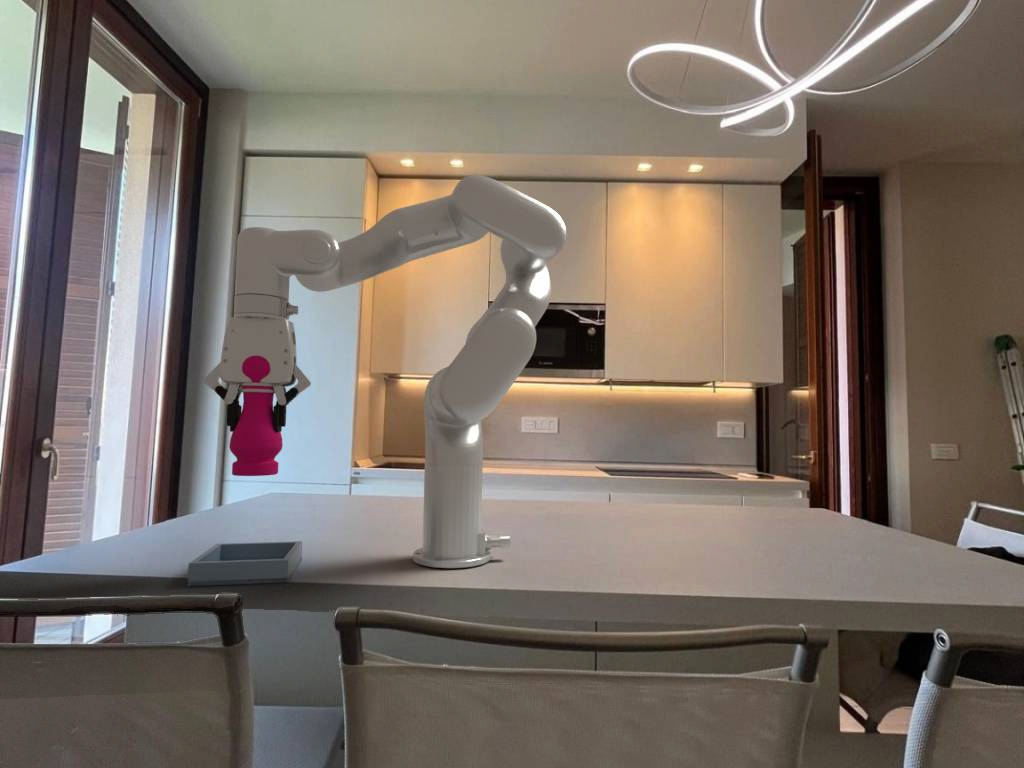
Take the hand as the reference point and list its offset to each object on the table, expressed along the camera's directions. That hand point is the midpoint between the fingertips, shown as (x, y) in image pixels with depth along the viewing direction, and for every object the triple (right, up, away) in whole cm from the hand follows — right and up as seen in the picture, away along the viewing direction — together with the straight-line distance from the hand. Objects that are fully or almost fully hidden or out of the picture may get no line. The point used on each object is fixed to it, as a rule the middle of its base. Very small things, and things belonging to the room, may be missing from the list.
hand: (256, 430), depth 84 cm
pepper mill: (0, -7, 0) cm, 7 cm away
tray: (0, -21, -2) cm, 21 cm away
